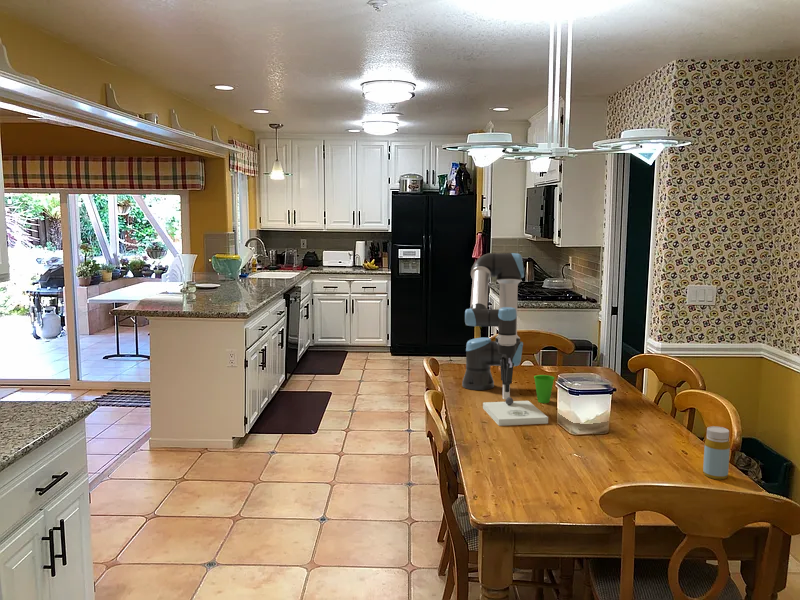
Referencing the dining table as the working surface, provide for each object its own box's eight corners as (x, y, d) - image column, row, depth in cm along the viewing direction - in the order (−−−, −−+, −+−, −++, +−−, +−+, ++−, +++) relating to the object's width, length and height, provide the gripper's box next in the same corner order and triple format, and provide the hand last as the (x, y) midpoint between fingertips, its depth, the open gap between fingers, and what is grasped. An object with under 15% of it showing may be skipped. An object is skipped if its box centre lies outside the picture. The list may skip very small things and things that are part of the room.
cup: (552, 399, 291) (553, 375, 289) (555, 404, 282) (556, 380, 281) (532, 398, 292) (532, 374, 290) (534, 404, 283) (534, 379, 281)
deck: (482, 408, 277) (483, 402, 277) (528, 406, 280) (528, 400, 279) (498, 425, 254) (498, 419, 253) (548, 423, 256) (548, 417, 256)
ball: (504, 403, 275) (504, 396, 274) (511, 403, 275) (511, 396, 275) (506, 406, 271) (506, 398, 271) (514, 405, 272) (514, 398, 271)
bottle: (698, 472, 206) (701, 426, 205) (719, 471, 207) (722, 425, 205) (710, 480, 200) (713, 433, 198) (732, 479, 200) (735, 432, 198)
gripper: (494, 341, 280) (493, 395, 283) (502, 347, 268) (501, 403, 270) (511, 341, 281) (510, 394, 284) (520, 346, 269) (519, 402, 271)
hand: (506, 398), depth 277 cm, fingers closed
